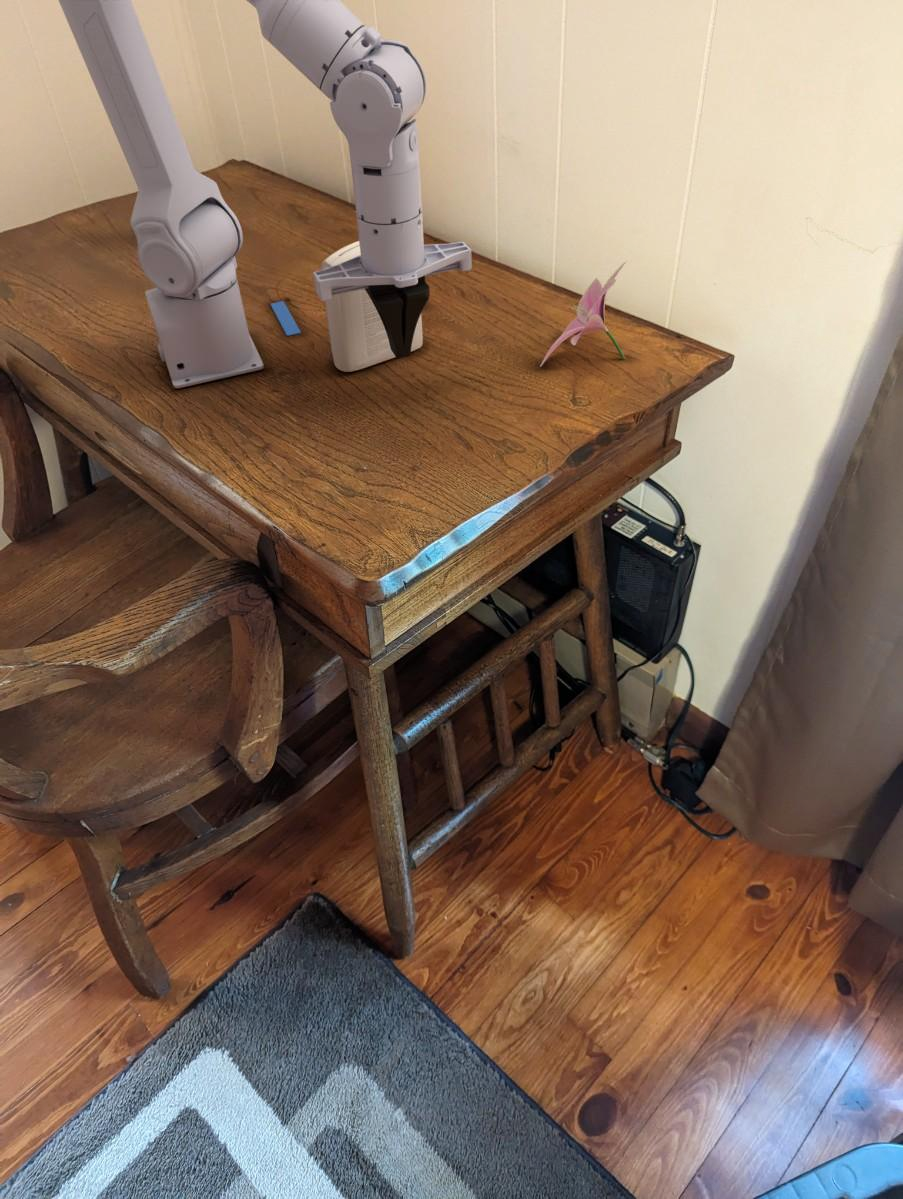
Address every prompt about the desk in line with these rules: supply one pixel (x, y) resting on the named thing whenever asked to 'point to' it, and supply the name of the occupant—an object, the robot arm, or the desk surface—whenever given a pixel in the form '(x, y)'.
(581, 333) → the lily
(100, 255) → the desk surface
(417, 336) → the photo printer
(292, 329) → the tape marks
